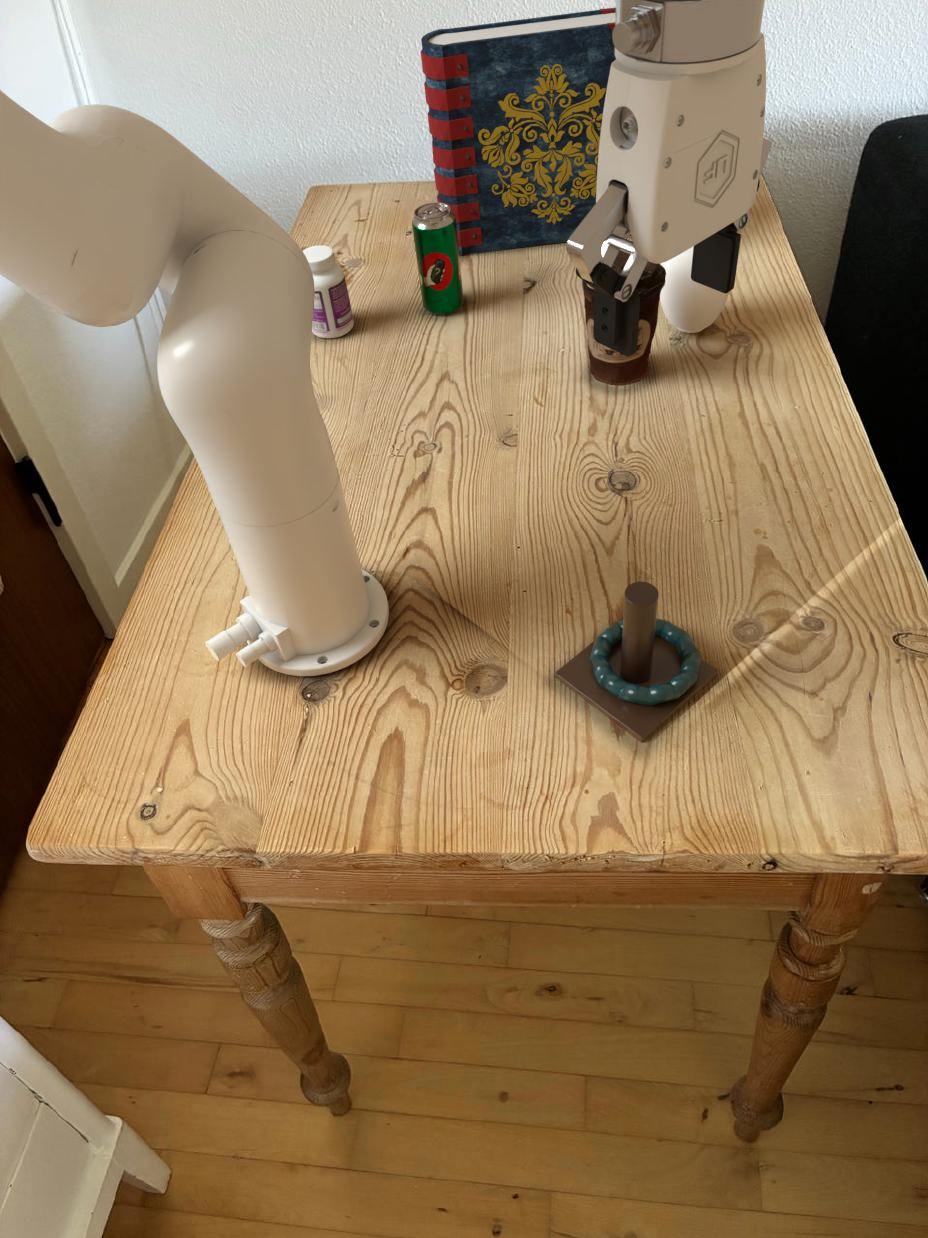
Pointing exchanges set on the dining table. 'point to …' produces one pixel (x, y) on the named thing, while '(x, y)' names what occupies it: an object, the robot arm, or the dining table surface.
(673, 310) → the white curved piece
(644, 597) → the peg stand
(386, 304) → the dining table surface
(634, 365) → the coffee cup
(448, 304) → the soda can
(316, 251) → the pill bottle
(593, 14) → the book
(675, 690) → the ring
